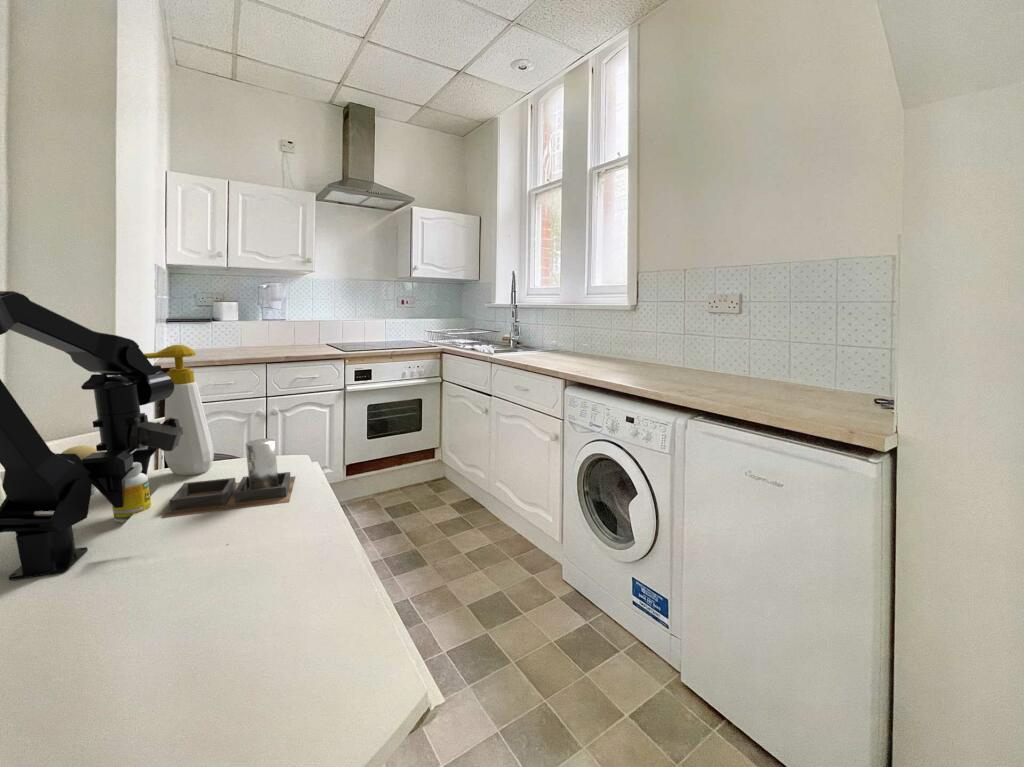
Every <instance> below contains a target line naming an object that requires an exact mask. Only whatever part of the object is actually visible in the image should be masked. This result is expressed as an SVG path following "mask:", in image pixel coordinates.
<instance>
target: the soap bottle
mask: <svg viewBox="0 0 1024 767" xmlns="http://www.w3.org/2000/svg"><path fill="white" fill-rule="evenodd" d="M143 354H144V355H145V356H146V358H147V359H148V360H149V359H164V358H165V359H167V358H168V359H170V358H171V359H174V365H175V367H173V368H169V369H168V370H169V371H166V374H167V375H168V376H169V377H170V378H171V380H172V382H174V391H173V393H172V395H171V396H170V397H168V398H166V399H164V400H165V401H164V421H166V420H167V419H168V418H175V419H178V421H179V424H180V427H183V428H182V429H183V434H182V435H181V437H180V440H179V443H178V446H176V447H175V448H174V449H173V450H172V451H163V455H164V461H165V462H166V464H167V466H168V468H169V470H170V471H171V472H172V473H173V474H175V475H181V476H195V475H196V476H197V475H200V474H201V475H202V474H205V473H207V472H209V471H210V469H211V468H212V466H213V463H214V458H215V456H214V453H215V452H214V444H213V440H212V437H211V434H210V430H209V425H208V422H207V417H206V414H205V409H204V405H203V402H202V398H201V394H200V390H199V385H198V383H197V382H196V381H195V374H194V372H195V371H194V370H193V369H191V367H184V365H185V364H184V358H186V357H187V358H189V357H194V356H196V351H194V349H192V348H190V347H189V346H186V345H183V344H174V345H172V344H171V345H170V346H167V347H165V348H163V349H161V350H159V351H155V352H150V353H143Z"/></svg>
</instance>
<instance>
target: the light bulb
mask: <svg viewBox="0 0 1024 767" xmlns="http://www.w3.org/2000/svg"><path fill="white" fill-rule="evenodd" d="M97 452H100V451H97V449H96V447H92V446H90V445H76V446H72V447H68V448H67V449H65V450H63V451H62V452H61V453H60V454H76V455H78V456H79V457H80V459H81V460H82V459H83V458H85V457H87V456H88V455H90V454H91V453H97ZM97 491H98V489H97V488H96V487H95V486H94V485H93V484H92V487H91V495H94V493H95V492H97Z"/></svg>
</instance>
